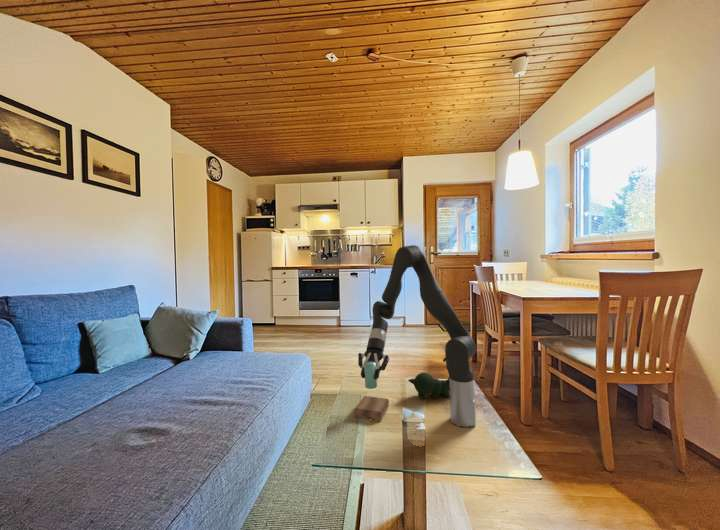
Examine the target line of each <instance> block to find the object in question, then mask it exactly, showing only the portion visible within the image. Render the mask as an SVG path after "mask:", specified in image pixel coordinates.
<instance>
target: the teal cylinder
mask: <svg viewBox="0 0 720 530" xmlns="http://www.w3.org/2000/svg"><path fill="white" fill-rule="evenodd" d="M364 361H365V360H364ZM364 361H363V363H364V374H365V378H364V388H366V389H369V390H370V389H371V390H372V389H375V388H377V387H378V381H377V380H378V379H377V380H375V379H374V375H375V370H376V369H377V368H376V362H375V361H365V362H364Z"/></svg>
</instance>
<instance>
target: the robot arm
mask: <svg viewBox="0 0 720 530" xmlns="http://www.w3.org/2000/svg"><path fill="white" fill-rule="evenodd" d="M409 268H413V271H415V274H416V276H417V277H418V282H419V283H418V284H419V294H420V298H421V301H422V303H423V305H424V306H425V308H426V310H427V312H428V313H429V315H431V316H432V317H433V318H434V319H435V320H436V321H437V322H439V324H441V326H442V327H443V328H444V330H446V333H448V336H449V338H450V339H449V340H448V341H447V342H446V343H445V349H444V351H445V352H444V353H445V354H444V355H445V357H446V361H445V365H446V371H447V372H448V378H449V390H450V391H449V409H450V412H449V413H450V414H449V415H450V416H449V417H450V421H451V423H452V422H453V423H452V424H454V423H455V424H457V425H459V426H458V427H460V426H463V427H462V428H469V427H468V426H471V427H474V426H475V427H476V422H477V421H476V420H477V416H476V395H475V394H476V393H475V373H474V370H472V369H471V368H470V361H469V360H470V358H472V357H473V356H474V355H475V353H476V350H477V345H476V343H475V341H474V338H473V337H472V336H471V334H470V333H469V331H468V330H467V329H466V328H465V326H464V325H463V323H462V322H461V321H460V318H459V317H458V315H457V313H456V311H455V310H454V308H453V307H452V304H451V303H450V301H449V299H448V298H447V296H446V294H445V291H444V290H443V289H442V287H441V285H440V284H439V282H438V280H437V278H436V277H435V274H434V273H433V271H432V269H431V268H430V265H429V262H428V261H427V258H426V256H425V253H424V252H423V250H422V248H421V247H419V246H418V245H415V244H413V245H412V244H411V245H404V246H401V247H399V248H398V249H397V250H396V253H395V255H394V258H393V263H392V266H391V270H390V275H389V277H388V281H387V284H386V286H385V289H384V291H383V293H382V295H381V300H382V301H380V300H376V301H375V302H374V303H373V306H372V317H373V318H372V325H371V331H370V333H369V337H368V341H367V345H366V351H365V352H364V353H361V352H358V357H357V358H358V359H357V361H358V362H357V363H358V364H357V365H358V367H359V368H360V369H361V370H360V371H361V372H360V377H361V378H362V379H365V374H364V362H365V361H375V362H376V370H375V375H374V379H375V380H378V379H379V377H380V374H381V371H386V368H387V367H388V366H387V365H388V363H389V360H390V357H389V355H388V354H386V355H385V354H384V351H385V345H386V342H387V341H386V340H387V334H388V333H387V332H388V326H389V323H388V321H387V320H390V319H392V318H393V317H394V315H395V308H396V307H395V306H396V303H397V300H398V298H399V296H400V295H401V291H402V287H403V283H402V280H403V276H404V273H405V272H406V270H407V269H409ZM364 358H365V359H364ZM381 360H382V362H380V361H381ZM455 424H454V425H455ZM457 425H456V426H457Z"/></svg>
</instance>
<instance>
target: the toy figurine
mask: <svg viewBox="0 0 720 530" xmlns="http://www.w3.org/2000/svg"><path fill="white" fill-rule="evenodd" d="M442 362H444V363H446V356H445V357H444V358H443V360H442ZM407 381H408V382H409V383H411V384H413V386H414V389H415V390H416V392H417V394H418V397H419V398H420V399H425V398H426V396H427V395H430V394H432V395H433V397H434V398H437V399H438V398H440V395H442V396H443V397H444V398H447V397H449V393H450V390H449V377H448V378H447V379H446V380H444V379H442V380H439V379H437V378H434V376H432V375H431V374H430V373H427V372H420V373H418V374H416V376H415V378H410V379H408V380H407Z"/></svg>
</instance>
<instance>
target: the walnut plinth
mask: <svg viewBox="0 0 720 530" xmlns="http://www.w3.org/2000/svg"><path fill="white" fill-rule="evenodd" d="M389 400H390V399H389V398H383V397H377V396H370V395H369V396H368V395H364V396H363V397H362V398H361V400H359V403H358V404H357V405H356V406H355V408H354V412H355V413H354V415H355V418H357V419H363V420H368V419H372V420H371V421H374V420H377V421H376V422H380V421H381V420H382V421H383V419H384V417H385V416H386V414H387V412H388V410H389V409H388V407H389V406H390V404H389V403H390V402H389ZM389 408H390V407H389ZM387 409H388V410H387ZM386 411H387V412H386ZM385 413H386V414H385ZM384 415H385V416H384ZM383 416H384V417H383ZM382 418H383V419H382ZM382 421H381V422H382Z"/></svg>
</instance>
